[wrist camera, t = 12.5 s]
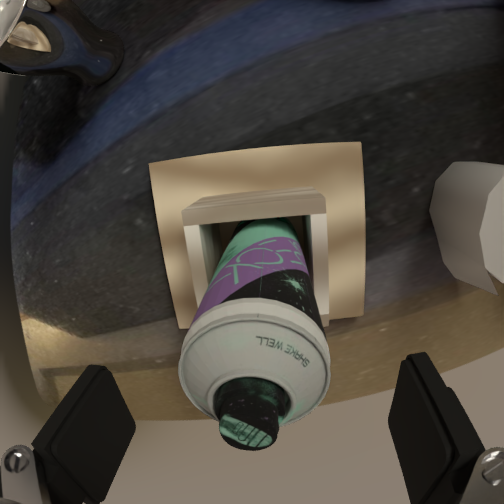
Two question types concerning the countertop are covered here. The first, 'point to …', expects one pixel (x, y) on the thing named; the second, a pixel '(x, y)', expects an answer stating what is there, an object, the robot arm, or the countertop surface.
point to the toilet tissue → (471, 221)
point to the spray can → (257, 338)
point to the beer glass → (56, 42)
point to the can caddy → (265, 206)
